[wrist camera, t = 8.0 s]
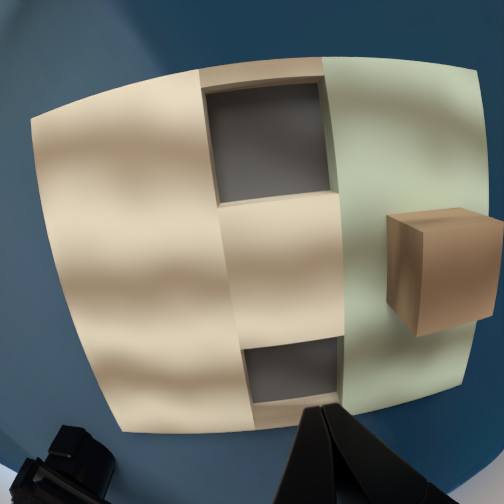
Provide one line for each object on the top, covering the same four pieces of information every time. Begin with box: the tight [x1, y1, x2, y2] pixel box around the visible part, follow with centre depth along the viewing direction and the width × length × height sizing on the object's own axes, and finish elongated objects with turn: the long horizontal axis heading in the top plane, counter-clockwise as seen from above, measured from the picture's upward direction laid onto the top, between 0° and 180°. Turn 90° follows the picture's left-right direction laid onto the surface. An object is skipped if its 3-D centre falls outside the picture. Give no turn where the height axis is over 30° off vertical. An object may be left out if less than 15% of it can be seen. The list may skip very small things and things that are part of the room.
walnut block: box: [386, 207, 504, 337], centre depth 14 cm, size 5×5×4 cm
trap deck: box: [31, 57, 489, 434], centre depth 18 cm, size 22×26×2 cm
